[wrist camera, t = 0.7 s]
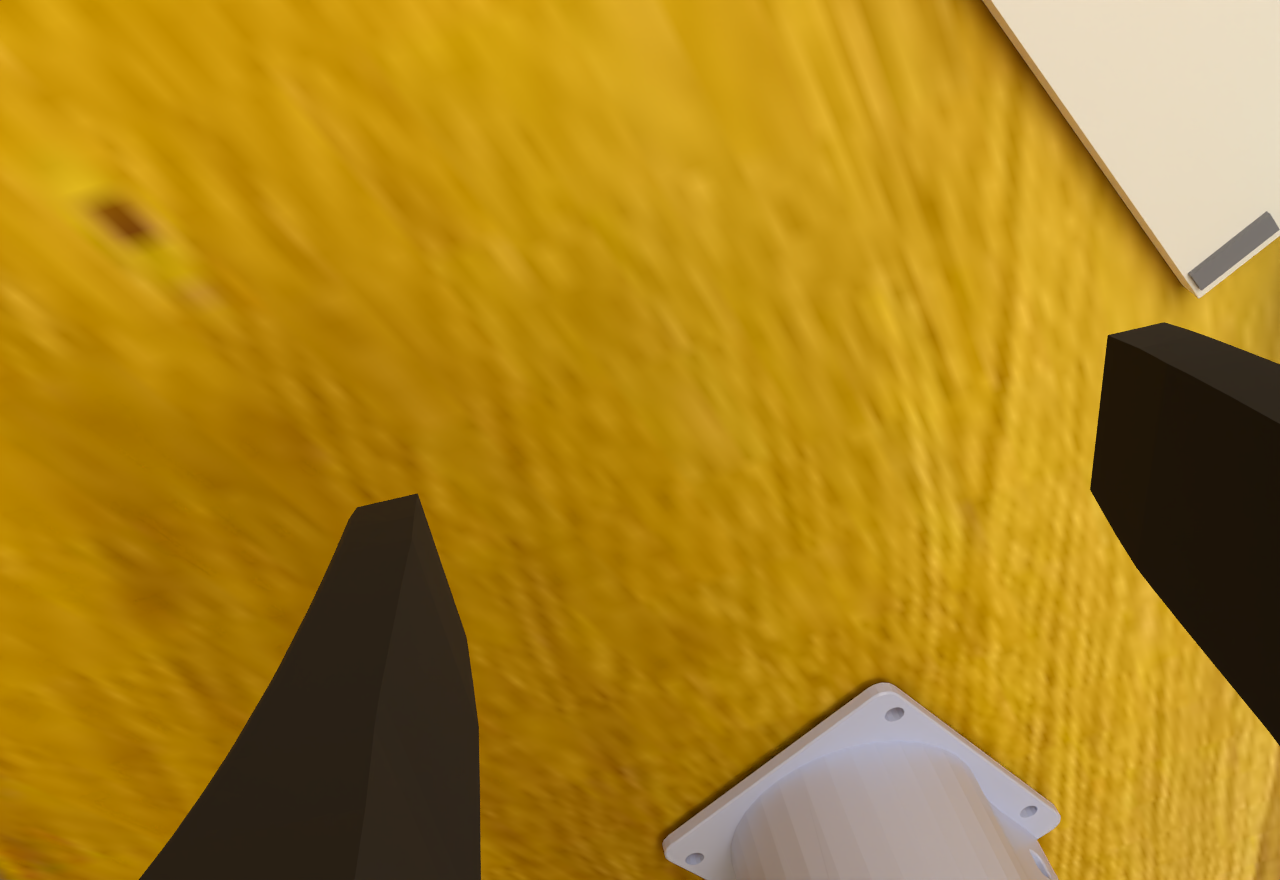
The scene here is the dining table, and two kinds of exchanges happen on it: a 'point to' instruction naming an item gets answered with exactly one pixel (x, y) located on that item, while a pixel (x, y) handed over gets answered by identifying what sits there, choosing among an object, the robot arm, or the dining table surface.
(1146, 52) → the white card
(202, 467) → the dining table surface
